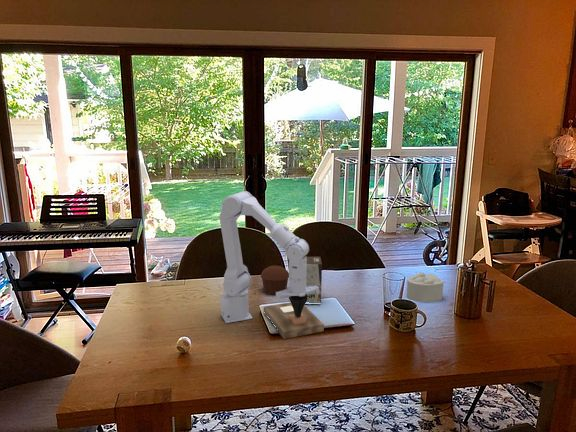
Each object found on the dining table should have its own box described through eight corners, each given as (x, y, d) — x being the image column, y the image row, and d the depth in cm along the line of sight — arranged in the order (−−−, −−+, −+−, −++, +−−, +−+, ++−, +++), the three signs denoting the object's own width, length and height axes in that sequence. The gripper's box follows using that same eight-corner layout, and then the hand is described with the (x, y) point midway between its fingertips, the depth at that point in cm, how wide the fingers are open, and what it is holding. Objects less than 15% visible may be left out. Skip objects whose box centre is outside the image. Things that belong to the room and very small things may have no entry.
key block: (283, 339, 142) (283, 331, 142) (263, 313, 160) (263, 306, 160) (323, 331, 147) (323, 324, 147) (299, 307, 165) (299, 300, 165)
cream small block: (284, 319, 155) (283, 312, 154) (279, 314, 159) (279, 307, 158) (295, 317, 157) (295, 310, 156) (291, 312, 161) (291, 305, 160)
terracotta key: (293, 327, 147) (293, 320, 146) (288, 321, 151) (288, 314, 150) (306, 325, 148) (306, 318, 148) (300, 319, 152) (301, 312, 152)
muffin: (256, 294, 177) (256, 270, 175) (266, 284, 187) (265, 261, 185) (285, 297, 174) (285, 273, 171) (293, 287, 184) (293, 264, 182)
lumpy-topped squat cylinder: (445, 301, 171) (447, 279, 169) (413, 303, 168) (414, 281, 166) (431, 290, 181) (433, 270, 179) (401, 292, 178) (402, 272, 176)
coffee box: (321, 305, 167) (322, 264, 163) (304, 305, 167) (304, 263, 163) (320, 295, 176) (320, 256, 172) (303, 295, 176) (304, 256, 172)
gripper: (281, 284, 139) (281, 324, 142) (323, 278, 145) (322, 317, 148) (273, 277, 146) (273, 315, 149) (314, 271, 151) (313, 308, 154)
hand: (297, 315), depth 149 cm, fingers closed
